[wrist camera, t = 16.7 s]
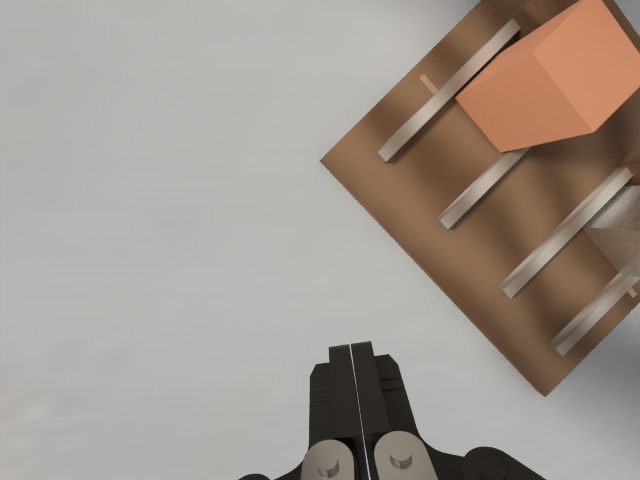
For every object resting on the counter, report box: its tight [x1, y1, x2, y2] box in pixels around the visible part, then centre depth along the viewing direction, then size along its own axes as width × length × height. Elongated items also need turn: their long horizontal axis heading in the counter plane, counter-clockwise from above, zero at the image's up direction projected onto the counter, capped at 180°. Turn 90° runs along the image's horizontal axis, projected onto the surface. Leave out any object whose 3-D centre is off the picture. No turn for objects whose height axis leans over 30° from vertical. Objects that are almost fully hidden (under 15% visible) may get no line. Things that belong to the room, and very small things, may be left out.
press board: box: [320, 0, 640, 397], centre depth 29 cm, size 26×30×7 cm
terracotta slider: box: [455, 0, 640, 153], centre depth 25 cm, size 5×6×9 cm
